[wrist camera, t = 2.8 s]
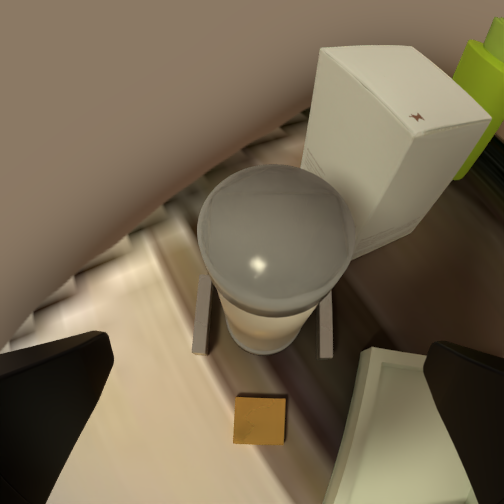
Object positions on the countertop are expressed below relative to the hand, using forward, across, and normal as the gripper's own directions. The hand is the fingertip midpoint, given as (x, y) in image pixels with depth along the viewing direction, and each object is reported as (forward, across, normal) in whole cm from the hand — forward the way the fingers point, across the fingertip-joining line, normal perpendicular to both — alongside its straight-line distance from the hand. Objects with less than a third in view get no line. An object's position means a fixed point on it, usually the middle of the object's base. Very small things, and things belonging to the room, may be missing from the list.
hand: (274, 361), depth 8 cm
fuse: (+11, 0, -6) cm, 12 cm away
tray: (+4, +11, -12) cm, 17 cm away
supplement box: (+17, +7, 0) cm, 19 cm away
